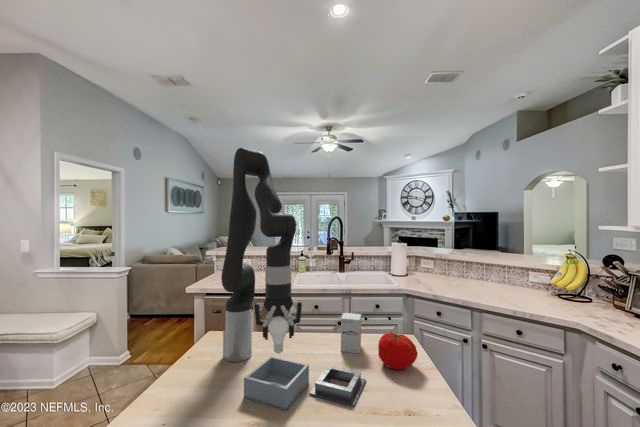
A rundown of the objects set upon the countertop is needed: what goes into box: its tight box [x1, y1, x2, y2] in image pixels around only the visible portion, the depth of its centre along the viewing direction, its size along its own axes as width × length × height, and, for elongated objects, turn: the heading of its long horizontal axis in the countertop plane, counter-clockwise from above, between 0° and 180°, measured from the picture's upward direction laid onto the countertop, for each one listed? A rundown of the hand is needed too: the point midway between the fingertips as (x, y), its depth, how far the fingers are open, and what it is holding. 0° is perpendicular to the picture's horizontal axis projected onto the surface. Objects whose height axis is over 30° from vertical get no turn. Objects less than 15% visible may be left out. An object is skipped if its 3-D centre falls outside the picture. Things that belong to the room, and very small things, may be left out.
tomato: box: [377, 330, 418, 371], centre depth 96 cm, size 13×12×11 cm
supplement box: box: [340, 312, 362, 354], centre depth 108 cm, size 7×7×13 cm
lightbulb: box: [267, 315, 289, 354], centre depth 82 cm, size 6×6×11 cm
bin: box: [243, 356, 310, 411], centre depth 82 cm, size 14×14×6 cm
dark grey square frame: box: [308, 365, 367, 408], centre depth 83 cm, size 13×13×3 cm
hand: (278, 337), depth 82 cm, fingers closed on lightbulb, 6 cm apart
